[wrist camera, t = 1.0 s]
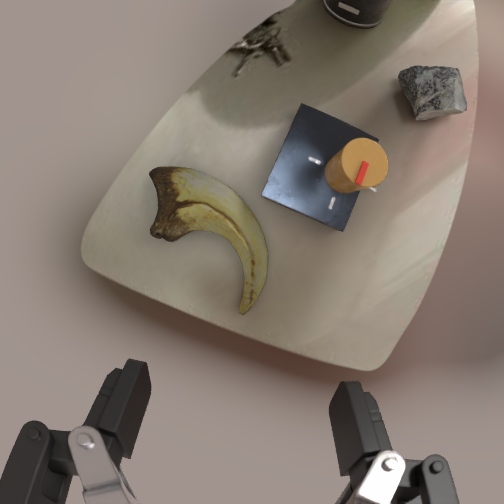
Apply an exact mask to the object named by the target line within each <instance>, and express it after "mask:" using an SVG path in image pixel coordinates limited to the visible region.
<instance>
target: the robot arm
mask: <svg viewBox="0 0 504 504" xmlns="http://www.w3.org/2000/svg"><path fill="white" fill-rule="evenodd" d="M391 1H392V0H323V4H324V7H325V8H326V10H327V11H328V12H329V13H330V14H331V15H332V16H333V17H334V18H336V19H337V20H339V21H341V22H343V23H345V24H347V25H350V26H354V27H358V28H372V27H375V26H377V25H378V24H379V23H380V22H381V20H382V19H383V16H384V14H385V12H386V10H387V8H388V7H389V5H390V3H391ZM150 395H151V381H150V376H149V371H148V366H147V363H146V362H143V361H138V360H134V359H128V360H127V362H126V364H125V366H124V368H123V370H122V369H118V368H115V369H114V370H113V371H112V372H111V373H110V374H108V375H107V377H106V379H105V381H104V383H103V386H102V387H101V389H100V391H99V394H98V395H97V397H96V399H95V401H94V403H93V405H92V408H91V410H90V412H89V414H88V416H87V418H86V420H85V422H84V424H83V425H82V426H79V427H77V428H75V429H73V430H72V431H58V430H49V429H48V428H47V427H46V426H45V424H43V423H42V422H39V421H30V422H27V423H26V424H25V425H24V426H23V427H22V429H21V431H20V433H19V435H18V438H17V440H16V442H15V445H14V446H13V449H12V452H11V454H10V456H9V459H8V461H7V464H6V466H5V469H4V471H3V474H2V477H1V480H0V504H65V502H66V498H67V495H68V491H69V487H70V484H71V480H72V477H73V475H76V476H79V477H80V480H81V482H82V485H83V489H84V491H83V498H84V501H85V503H86V504H140V503H139V501H138V499H137V498H136V496H135V494H134V492H133V490H132V488H131V487H130V485H129V483H128V481H127V479H126V477H125V475H124V473H123V471H122V468H121V466H120V463H121V460H122V457H125V458H128V459H131V455H132V452H133V449H134V445H135V442H136V439H137V436H138V433H139V429H140V426H141V423H142V420H143V417H144V414H145V411H146V408H147V405H148V402H149V399H150ZM329 416H330V421H331V426H332V431H333V437H334V442H335V447H336V453H337V458H338V464H339V468H340V475H341V476H348V475H349V476H350V482H349V483H348V484H347V486H346V488H345V489H344V491H343V492H342V494H341V495H340V497H339V498H338V500H337V501H336V503H335V504H389V503H390V501H391V504H459V500H458V496H457V493H456V489H455V485H454V481H453V478H452V475H451V471H450V468H449V465H448V462H447V460H446V459H445V458H444V457H442V456H440V455H437V454H434V455H430V456H428V457H427V458H426V459H425V460H422V461H421V460H408V459H404V458H403V457H402V456H401V455H400V454H399V453H397V452H395V451H393V449H392V447H391V444H390V441H389V437H388V434H387V431H386V428H385V425H384V422H383V420H382V416H381V413H380V412H379V407H378V405H377V402H376V400H375V399H374V398H373V396H372V395H371V394H370V393H369V392H363V389H362V386H361V383H360V382H359V381H342V382H340V384H339V386H338V388H337V390H336V392H335V394H334V396H333V398H332V400H331V402H330V406H329Z"/></svg>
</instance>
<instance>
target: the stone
mask: <svg viewBox="0 0 504 504" xmlns="http://www.w3.org/2000/svg"><path fill="white" fill-rule="evenodd" d="M398 78H399V82H400V85H401V87H402V89H403V92H404V94H405V96H406V97H407V99H408V100H409V102H410V104H411V106H412V108H413V113H414V117H415V119H416V120H428V119H430V118H433V117H440V116H446V115H453V114H459V113H462V112H464V111H466V109H467V102H466V98H465V95H464V91H463V84H462V79H461V76H460V73H459V70H458V69H457V68H451V67H438V66H434V67H428V66H413V67H410V68H408V69H405V70H402V71H400V73H399V75H398Z"/></svg>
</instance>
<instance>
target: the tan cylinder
mask: <svg viewBox="0 0 504 504" xmlns="http://www.w3.org/2000/svg"><path fill="white" fill-rule="evenodd" d="M387 171H388V159H387V156H386V154H385V152H384V150H383V149H382V148H381V146H380V145H379V144H377V143H376V142H374V141H373V140H370V139H367V138H357V139H354V140H352V141H350V142H349V143H348V144H346V145H345V146H344V147H343V148H342V149H341V150H340V151H339V152H338V153H337V154H336V155H335V156H334V157H333V158H331V159H330V160H329V162H328V163H327V165H326V168H325V178H326V181H327V183H328V184H329V186H330V187H331V188H332V189H333V190H335V191H337V192H339V193H351V192H355V191H358V190H362V189H366V188H370V187H373V186H376V185H378V184H380V183H381V182H382V181H383V180H384V178H385V177H386V175H387Z"/></svg>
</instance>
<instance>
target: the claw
mask: <svg viewBox="0 0 504 504" xmlns="http://www.w3.org/2000/svg"><path fill="white" fill-rule="evenodd" d="M149 175H150V177H151V179H152V181H153V183H154V186H155V188H156V190H157V196H158V207H159V208H158V213H157V216H156V219H155V221H154V223H153V225H152V226H151V228H150V234H151V235H152V236H153V237H155V238H158V239H161V238H162V237H163V239H165V240H167V241H169V242H173V241H175V240H177V239H178V238H179V237H180V236H182V235H183V234H186V233H188V232H190V231H194V230H204V231H210V232H214V233H217V234H219V235H221V236H223V237H225V238H226V239H228V240H229V242H230V243H231V244H232V245H233V246H234V248H235V250H236V251H237V253H238V255H239V257H240V259H241V262H242V266H243V270H244V276H245V284H244V292H243V296H242V301H241V305H240V308H239V313H240V314H241V315H244V314H245V313H246V312H248V310H249V309H250V308H251V306H252V305H253V304H254V302H255V301H256V299H257V297H258V296H259V294H260V292H261V290H262V288H263V285H264V282H265V279H266V275H267V264H268V253H267V247H266V244H265V239H264V236H263V233H262V231H261V228H260V226H259V224H258V222H257V220H256V218H255V216H254V215H253V213H252V212H251V210H250V209H249V208H248V207H247V205H246V204H245V203H244V202H243V200H242V199H241V198H240V197H239V196H237V194H236V193H235V192H234V191H233V190H231V189H230V188H229V187H228V186H226V185H225V184H224V183H222V182H220V181H219V180H217V179H216V178H214V177H212V176H210V175H207V174H205V173H202V172H199V171H196V170H193V169H189V168H182V167H157V168H155V169H153V170H152V171H150V173H149Z"/></svg>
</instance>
